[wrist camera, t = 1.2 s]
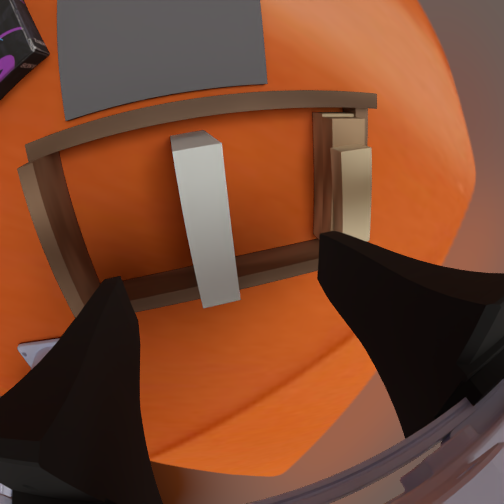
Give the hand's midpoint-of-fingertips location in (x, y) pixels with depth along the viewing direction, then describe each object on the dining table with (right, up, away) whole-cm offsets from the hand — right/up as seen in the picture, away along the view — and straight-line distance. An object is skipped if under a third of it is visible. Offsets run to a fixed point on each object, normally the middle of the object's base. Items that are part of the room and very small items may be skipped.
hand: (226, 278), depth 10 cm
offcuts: (+6, +6, +10) cm, 13 cm away
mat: (-4, +14, +2) cm, 15 cm away
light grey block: (-3, +5, +8) cm, 10 cm away
